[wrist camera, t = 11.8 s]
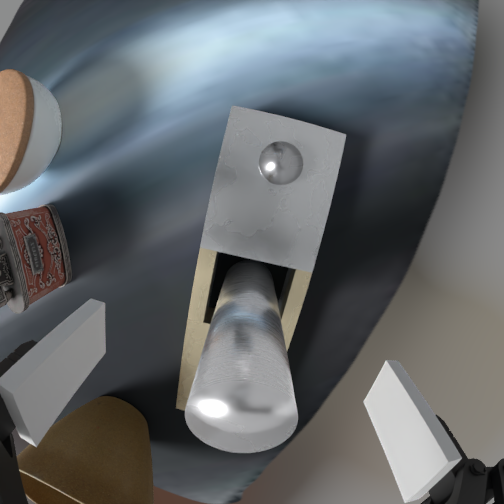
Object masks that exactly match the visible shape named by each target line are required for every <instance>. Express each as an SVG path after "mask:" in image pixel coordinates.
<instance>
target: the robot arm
mask: <svg viewBox="0 0 504 504" xmlns="http://www.w3.org/2000/svg"><path fill="white" fill-rule="evenodd" d="M105 353H106V344H105V303H103V302H100V301H97V300H94V299H90V300H88V301H87V302H86V303H85V304H83V305H82V306H81V307H80V308H79V309H77V310H76V311H75V312H74V313H72V314H71V315H70V316H69V317H68V318H66V319H65V320H64V321H63V322H62V323H60V324H59V325H58V326H57V327H56V328H55V329H53V330H52V331H51V332H50V333H49V334H48V335H46V336H45V337H44V338H43V339H42V340H41V341H40V342H38V343H37V342H35V341H33V340H31V341H29V342H26V343H24V344H21V345H20V346H19V347H18V348H17V349H15V350H14V352H13V353H11V354H10V355H9V356H7V358H5V359H4V360H3V361H2V362H1V363H0V504H28V501H27V498H26V495H25V491H24V488H23V484H22V480H21V476H20V471H19V467H18V462H17V457H16V451H15V446H14V439H13V436H12V433H11V432H12V431H13V430H14V429H15V428H16V429H17V432H18V433H19V435H20V437H21V438H23V439H24V440H26V441H27V442H29V443H30V444H32V445H34V446H35V447H37V446H38V444H39V443H40V441H41V440H42V438H43V437H44V435H45V434H46V433H47V431H48V430H49V428H50V427H51V425H52V424H53V423H54V421H55V420H56V418H57V417H58V415H59V414H60V413H61V411H62V410H63V409H64V407H65V406H66V404H67V403H68V402H69V400H70V399H71V398H72V396H73V395H74V393H75V392H76V391H77V389H78V388H79V387H80V385H81V384H82V383H83V381H84V380H85V379H86V377H87V376H88V375H89V374H90V372H91V371H92V370H93V368H94V367H95V366H96V364H97V363H98V362H99V361H100V359H101V358H102V357H103V355H104V354H105ZM364 404H365V407H366V409H367V411H368V414H369V416H370V418H371V421H372V423H373V425H374V427H375V430H376V432H377V435H378V437H379V440H380V442H381V444H382V447H383V449H384V452H385V454H386V457H387V459H388V461H389V464H390V467H391V469H392V471H393V474H394V476H395V479H396V482H397V484H398V487H399V490H400V492H401V495H402V497H403V500H404V503H406V502H411V501H414V500H418V499H420V498H421V497H422V496H423V495H424V494H426V493H427V492H428V491H429V494H430V496H429V497H428V498H427V499H426V500H425V501H423V502H422V503H421V504H486V503H487V502H488V501H490V500H491V499H492V498H493V497H494V501H495V502H494V503H493V504H504V459H501V460H500V461H499V462H498V463H497V464H496V465H495V466H494V467H486V466H485V465H484V464H483V463H482V462H481V461H480V460H478V459H468V458H467V456H466V455H465V453H464V452H463V450H462V449H461V447H460V445H459V444H458V442H457V440H456V439H455V437H453V434H452V433H451V431H449V428H448V426H447V425H446V423H445V422H444V421H443V420H442V419H441V418H440V417H439V416H437V415H435V414H434V412H433V411H432V409H431V408H430V406H429V405H428V403H427V402H426V401H425V399H424V397H423V396H422V394H421V393H420V391H419V390H418V388H417V387H416V386H415V384H414V383H413V381H412V380H411V378H410V377H409V375H408V374H407V372H406V371H405V370H404V368H403V367H402V365H401V364H400V363H399V362H398V361H393V360H386V361H385V363H384V365H383V367H382V369H381V371H380V373H379V375H378V376H377V378H376V380H375V382H374V384H373V386H372V387H371V389H370V391H369V393H368V395H367V397H366V398H365V400H364Z"/></svg>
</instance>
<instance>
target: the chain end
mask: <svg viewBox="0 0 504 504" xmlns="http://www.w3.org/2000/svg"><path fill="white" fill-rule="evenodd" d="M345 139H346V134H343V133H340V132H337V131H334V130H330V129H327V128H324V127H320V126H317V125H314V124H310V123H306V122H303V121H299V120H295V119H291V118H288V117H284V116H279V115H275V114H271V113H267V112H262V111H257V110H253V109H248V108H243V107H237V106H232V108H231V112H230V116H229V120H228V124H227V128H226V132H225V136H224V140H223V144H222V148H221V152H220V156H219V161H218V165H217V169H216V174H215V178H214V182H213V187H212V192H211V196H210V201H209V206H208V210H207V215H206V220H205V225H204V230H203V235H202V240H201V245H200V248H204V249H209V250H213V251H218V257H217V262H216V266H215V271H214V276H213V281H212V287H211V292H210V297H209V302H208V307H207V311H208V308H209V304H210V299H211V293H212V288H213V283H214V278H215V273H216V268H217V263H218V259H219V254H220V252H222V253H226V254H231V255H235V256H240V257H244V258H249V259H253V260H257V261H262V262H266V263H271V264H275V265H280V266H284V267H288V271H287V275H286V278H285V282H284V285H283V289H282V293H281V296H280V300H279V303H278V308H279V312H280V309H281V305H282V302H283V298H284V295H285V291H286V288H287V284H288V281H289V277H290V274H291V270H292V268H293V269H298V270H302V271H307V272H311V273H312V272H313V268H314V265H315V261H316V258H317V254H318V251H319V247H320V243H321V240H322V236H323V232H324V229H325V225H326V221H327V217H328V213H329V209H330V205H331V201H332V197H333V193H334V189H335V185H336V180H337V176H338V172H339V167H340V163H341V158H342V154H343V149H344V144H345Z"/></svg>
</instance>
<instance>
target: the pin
mask: <svg viewBox="0 0 504 504" xmlns="http://www.w3.org/2000/svg"><path fill="white" fill-rule="evenodd" d="M185 420H186V423H187V425H188V427H189V429H190V430H191V431H192V433H193V434H194V435H195V436H196V437H197V438H199V439H200V440H201V441H203V442H204V443H206V444H208V445H210V446H212V447H214V448H217V449H220V450H224V451H228V452H234V453H254V452H260V451H264V450H268V449H271V448H273V447H276V446H277V445H279V444H281V443H283V442H284V441H285V440H287V439H288V438H289V437H290V436H291V435H292V433H293V432H294V430H295V429H296V426H297V423H298V412H297V406H296V401H295V395H294V389H293V384H292V378H291V372H290V367H289V361H288V356H287V350H286V345H285V340H284V334H283V329H282V323H281V318H280V313H279V308H278V302H277V297H276V292H275V287H274V282H273V277H272V274H271V272H270V271H269V269H268V268H267V267H266V266H265V265H263V264H262V263H260V262H257V261H253V260H244V261H240V262H238V263H236V264H234V265H233V266H232V267H231V268H230V269H229V270H228V272H227V273H226V276H225V279H224V282H223V285H222V289H221V292H220V295H219V298H218V301H217V305H216V308H215V311H214V314H213V318H212V321H211V324H210V327H209V331H208V334H207V337H206V340H205V344H204V347H203V350H202V354H201V357H200V360H199V364H198V367H197V370H196V374H195V377H194V381H193V384H192V387H191V391H190V394H189V398H188V401H187V405H186V408H185Z"/></svg>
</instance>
